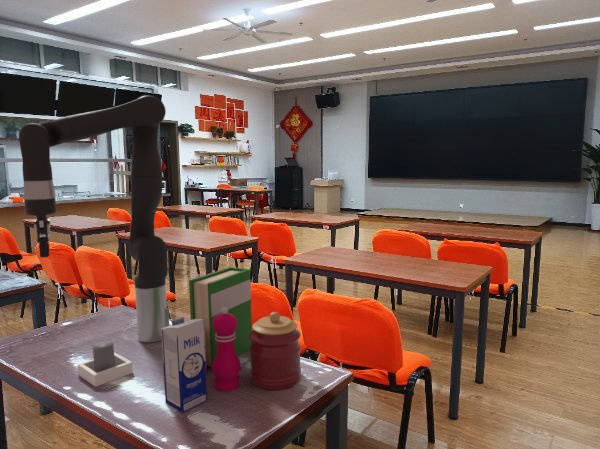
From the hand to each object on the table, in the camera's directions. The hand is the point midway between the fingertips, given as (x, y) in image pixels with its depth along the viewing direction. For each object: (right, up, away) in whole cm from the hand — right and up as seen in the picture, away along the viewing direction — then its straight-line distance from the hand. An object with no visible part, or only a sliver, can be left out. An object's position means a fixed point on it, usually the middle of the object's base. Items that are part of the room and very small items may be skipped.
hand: (45, 254), depth 128 cm
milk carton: (+46, -33, -23) cm, 61 cm away
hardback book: (+50, -30, +2) cm, 58 cm away
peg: (+20, -31, -8) cm, 38 cm away
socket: (+20, -31, -8) cm, 38 cm away
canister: (+66, -31, -12) cm, 74 cm away
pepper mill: (+54, -32, -15) cm, 64 cm away
